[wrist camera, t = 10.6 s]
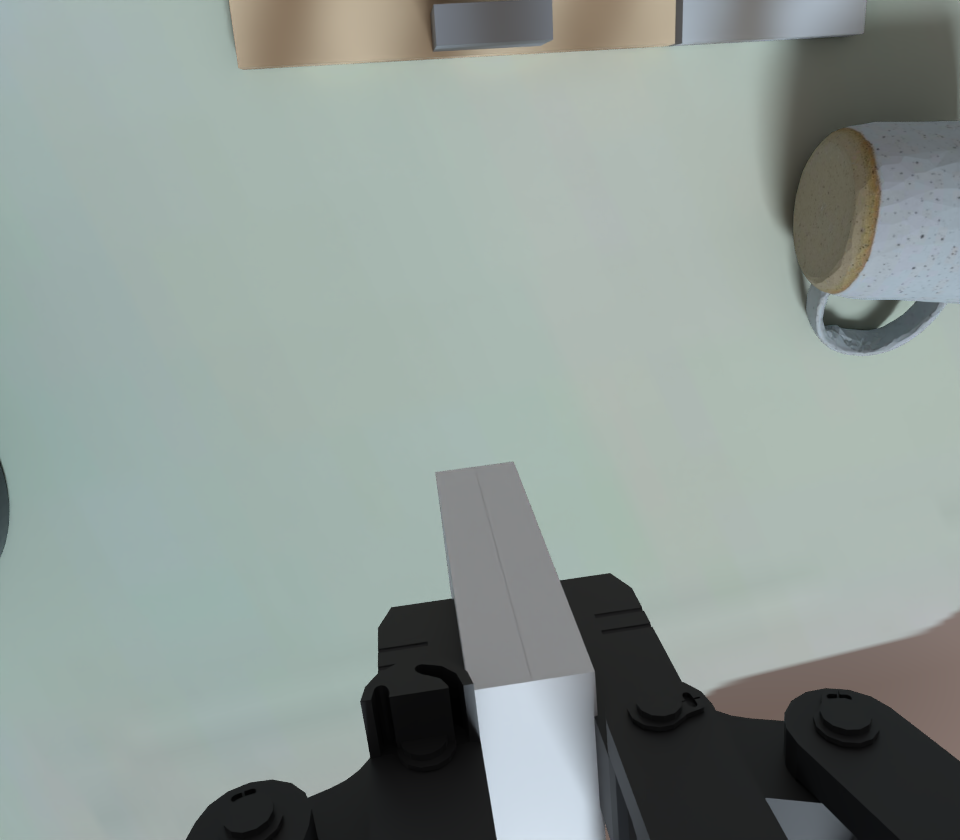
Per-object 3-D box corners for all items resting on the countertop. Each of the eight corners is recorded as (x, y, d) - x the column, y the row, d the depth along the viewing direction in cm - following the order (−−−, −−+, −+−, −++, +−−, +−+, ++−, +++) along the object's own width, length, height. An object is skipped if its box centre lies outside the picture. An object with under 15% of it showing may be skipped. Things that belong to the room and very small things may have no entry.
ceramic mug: (792, 120, 38) (885, 124, 31) (965, 118, 39) (1095, 122, 32) (765, 349, 42) (843, 400, 35) (924, 344, 43) (1032, 393, 35)
